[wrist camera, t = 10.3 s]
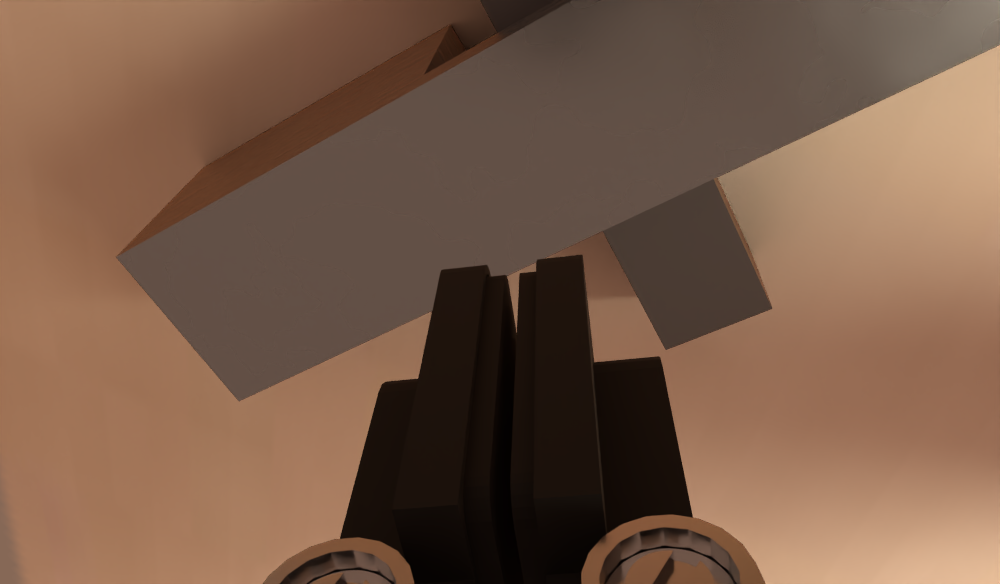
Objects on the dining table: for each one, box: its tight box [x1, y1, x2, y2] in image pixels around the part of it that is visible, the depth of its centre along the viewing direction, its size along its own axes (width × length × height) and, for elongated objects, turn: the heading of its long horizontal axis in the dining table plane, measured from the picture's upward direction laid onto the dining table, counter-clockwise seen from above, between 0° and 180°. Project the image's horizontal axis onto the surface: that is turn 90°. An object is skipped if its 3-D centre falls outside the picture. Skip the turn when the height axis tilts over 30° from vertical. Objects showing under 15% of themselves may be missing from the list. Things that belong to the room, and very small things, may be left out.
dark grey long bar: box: [480, 0, 772, 350], centre depth 23 cm, size 18×4×4 cm, turn 28°
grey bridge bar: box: [116, 0, 1000, 401], centre depth 22 cm, size 5×24×6 cm, turn 120°
